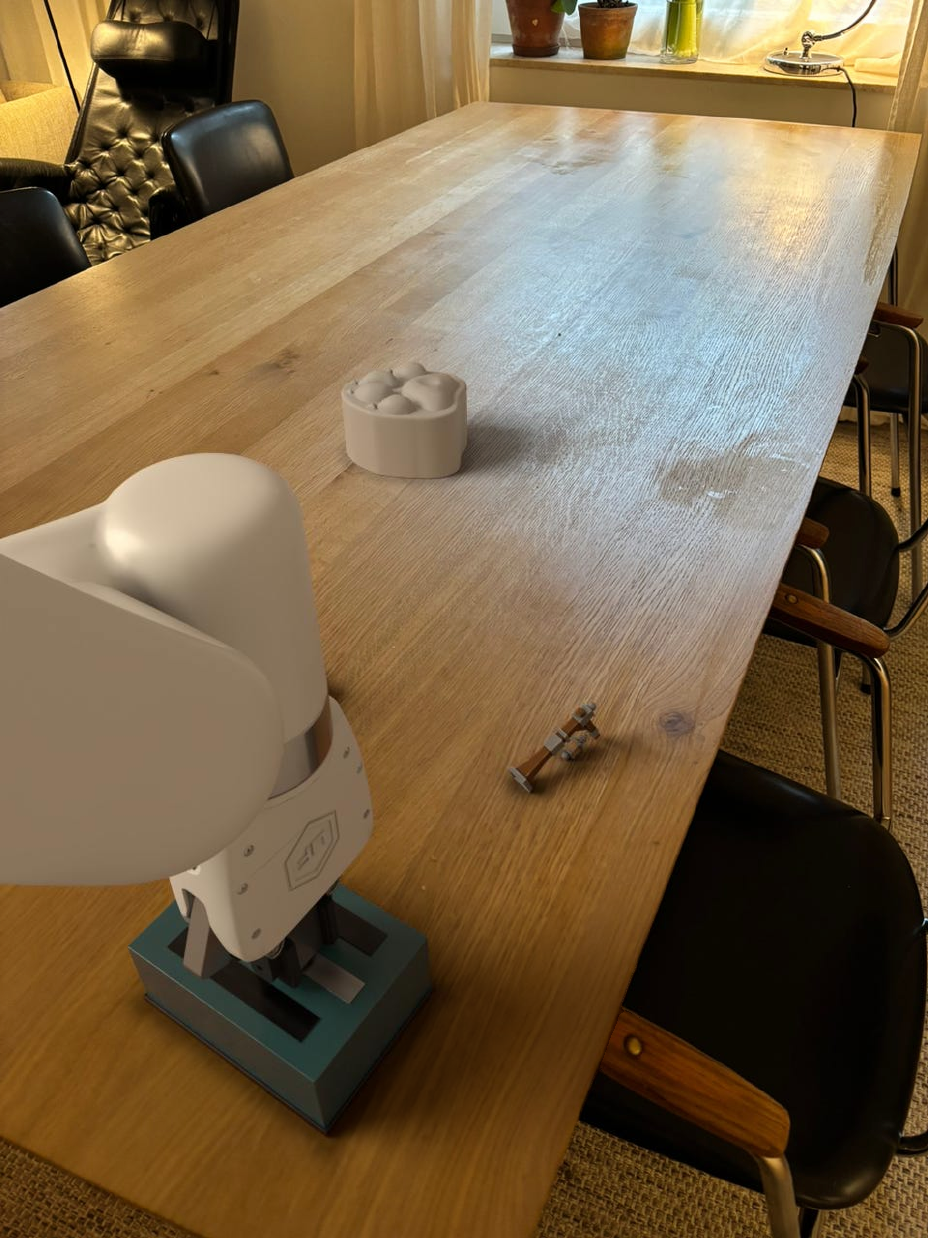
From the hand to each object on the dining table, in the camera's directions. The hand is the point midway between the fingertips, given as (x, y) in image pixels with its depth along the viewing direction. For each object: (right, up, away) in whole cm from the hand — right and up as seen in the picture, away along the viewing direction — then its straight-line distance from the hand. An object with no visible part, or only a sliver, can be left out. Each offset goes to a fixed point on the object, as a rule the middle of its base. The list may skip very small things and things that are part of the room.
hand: (296, 949), depth 56 cm
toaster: (-1, -4, +5) cm, 7 cm away
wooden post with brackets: (+16, +8, +19) cm, 26 cm away
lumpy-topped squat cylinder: (+3, +37, +53) cm, 65 cm away
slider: (0, 0, 0) cm, 0 cm away
